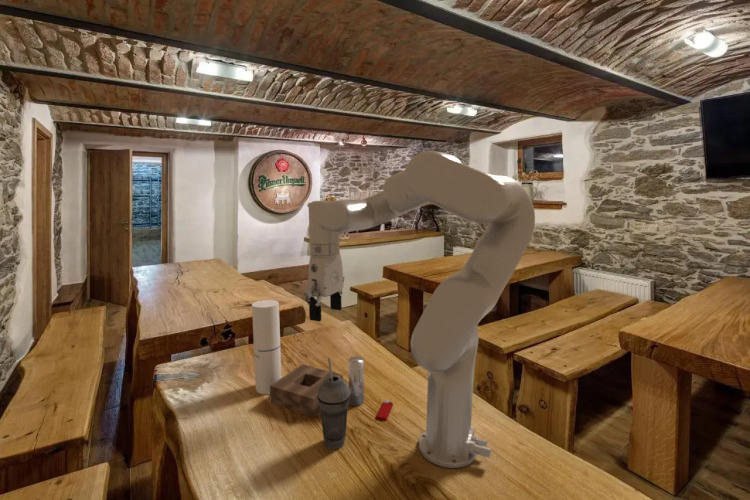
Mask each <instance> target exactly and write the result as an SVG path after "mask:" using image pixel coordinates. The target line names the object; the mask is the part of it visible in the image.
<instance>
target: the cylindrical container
mask: <svg viewBox="0 0 750 500" xmlns="http://www.w3.org/2000/svg"><path fill="white" fill-rule="evenodd" d="M251 311H252V312H251V313H252V332H253V333H252V334H253V335H252V336H253V337H252V339H253V353H254V354H253V357H254V358H253V359H254V376H255V377H254V378H255V392H257V393H258V394H260V395H270V385H272V384H273V383H275V382H276V381H278V380H279V379H281V378H282V357H281V333H280V332H281V329H280V327H281V326H280V303H279V301H278V300H274V299H263V300H257V301H254V302H252V303H251Z"/></svg>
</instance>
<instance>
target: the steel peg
mask: <svg viewBox="0 0 750 500" xmlns="http://www.w3.org/2000/svg"><path fill="white" fill-rule="evenodd" d="M348 387H349V391H350V399H349V404H348V405H350V406H353V407H359V406H360V407H361V406H362V405H363V404H364V402H365V359H364V358H363V357H362V356H352V357H350V358H349V359H348Z"/></svg>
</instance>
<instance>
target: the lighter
mask: <svg viewBox="0 0 750 500" xmlns="http://www.w3.org/2000/svg"><path fill="white" fill-rule="evenodd" d="M393 406H394V403H393V402H391V400H389V399H384V400H383V402H382V403H381V406H380V408H379V410H378V412H377V414H376V415H375V420H378V421H379V420H381V421H385V422H386V421H387V420H388V418H389V416H390V414H391V411H392V409H393Z"/></svg>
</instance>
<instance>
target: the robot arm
mask: <svg viewBox="0 0 750 500" xmlns="http://www.w3.org/2000/svg"><path fill="white" fill-rule="evenodd" d="M383 183H384V184H383V190H382V191H380V192H378V193H376V194H374V195H371V196H368V197H366V198H364V199H345V200H342V199H340V200H313V201H311V202H310V203H309V204H308V228H309V229H308V230H309V231H308V235H309V236H308V237H309V263H308V275H307V277H308V281H307V282H308V283H307V286H306V288H305V289H304V290H303V296H304V297H305V301H306V303H307V305H308V307H309V308H308V310H309V311H308V312H309V320H310V321H313V322H314V321H316V322H321V321H322V305H321V301H322V299H323V297H324V298H328V297H329V301H330V302H329V303H330V305H329V306H330V309H331V310H334V311H341V310H342V309H343V308H342V295H343V288H344V284H345V283H344V282H345V276H344V271H343V270H344V269H343V263H342V262H343V261H342V256H341V255H342V254H341V253H340V250H341V249H340V248H341V247H340V233H350V232H355V231H364V230H368V229H372V228H374V227H377V226H379V225H382V224H385V223H387V222H389V221H393V220H394V219H396V218H399V217H401V216H402V215H404V214H407V213H408V212H411V211H414V210H416V209H419V208H421V207H425V206H427V205H430V204H432V205H434V206H435V207H436V206H437V207H438V208H441V209H443V210H445V211H447V212H449V213H450V214H453V215H454V216H455V215H456V216H457V217H459V218H461V219H464V220H466V221H468V222H470V223H471V222H472V223H476V224H481V225H482V224H487V226H486V228H485V229H484V232H483V233H482V235H481V236H480V237H479V239H478V240H477V242H476V244H475V246H474V248H473V250H472V252H471V254H470V256H469V257H468V259H467V260H466V262H465V264H464V266H463V267H462V268H461V269H460V270H459V271H457V272H455V273H453V274H452V275H450V276H448V277H446V278H444V280H443V281H441V282H440V283H439V285H438V286H437V287H436V288H435V290H434V292H433V293H432V295H431V297H430V299H429V300H428V302H427V305H426V307H425V308H424V310H423V312H422V314H421V316H420V317H419V320H418V322H417V324H416V325H415V327H414V330H413V331H412V334H411V338H410V351H411V355H412V357H413V360H415V363H417V364H418V366H419V367H421V368H422V369H424V370H425V371H428V372H427V395H426V396H427V397H426V398H427V399H426V402H427V403H426V427H425V428H426V430H425V431H423V432H422V433H421V434H420V436H419V439H418V448H419V452H420V453H421V455H422V456H423V457H424V458H425V459H427V460H428V462H430V463H432V464H434V465H437V466H439V467H443V468H450V469H458V468H463V467H466V466H469V465H471V464H472V463H473V462H474V461H475V460H476V458H477V455H479V456H482V457H484V458H488V459H490V458H491V455H492V448H491V447H489V446H488V440H485V439H481V438H478V437H477V436H475V429H474V428H473V427H472V413H473V412H472V411H473V394H474V378H475V377H474V376H475V367H476V366H475V365H476V357H477V351H478V347H479V346H478V345H479V338H480V337H479V334H480V333H479V327H478V325H479V323H480V322H481V320H482V319H484V318H485V316H486V315H488V314H489V313H490V312H491V311H492V310H493V309H494V308H495V307H496V306H497V305H496V304H497V303H498V301H499V299H500V296H501V295H502V293H503V292H504V289H505V288H506V286H507V284H508V283H509V281H510V279H511V278H512V276H513V275H514V273H515V270H516V269H517V267H518V265H519V263H520V261H521V260H522V258H523V256H524V254H525V253H526V250H527V249H528V247H529V245H530V243H531V240H532V238H533V235H534V230H535V225H536V215H535V214H536V213H535V208H534V204H533V201H532V198H531V196H530V195H529V193H528V192H527V190H526V189H525V188H524V186H522V185H521V184H520V183H519V182H518V181H517V180H516V179H513V178H511V177H509V176H507V175H502V174H501V175H500V174H492V173H491V174H490V173H487V172H485V171H481V170H478V169H477V168H473V167H471V166H469V165H465V164H463V162H462V161H461V160H460V159H459V158H458V157H456V156H455V155H453V154H450V153H445V152H441V151H436V150H424V151H422V152H418V154H415V155H414V156H413V157H412V158H411V159H410V160H409V161H408V163H407V164H406V166H405V169H404V170H402V171H400V172H397V173H395V174H392V175H391V176H389V177H388V178H387V179H385V181H384V182H383ZM315 297H316V299H315Z"/></svg>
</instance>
